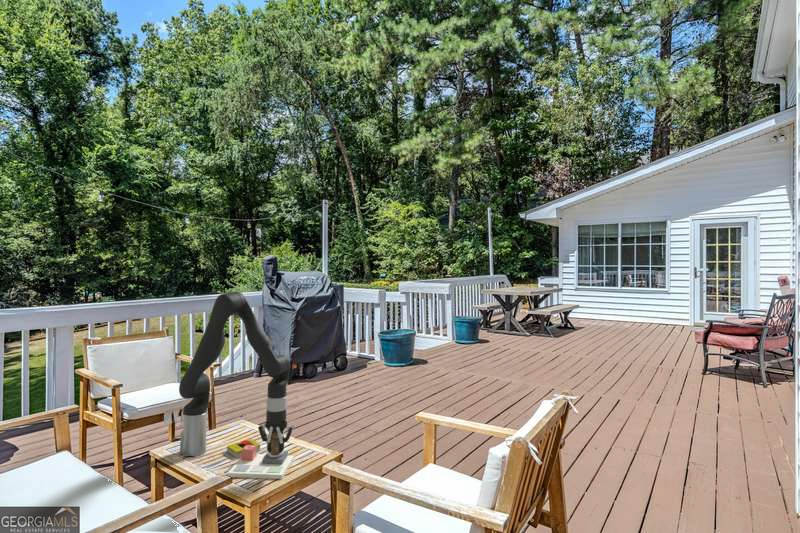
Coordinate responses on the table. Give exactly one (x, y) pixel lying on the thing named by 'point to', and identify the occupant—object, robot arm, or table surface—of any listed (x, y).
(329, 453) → the table surface
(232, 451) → the emergency button
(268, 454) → the dome
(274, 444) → the pawn
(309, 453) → the table surface
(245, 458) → the die
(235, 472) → the board
